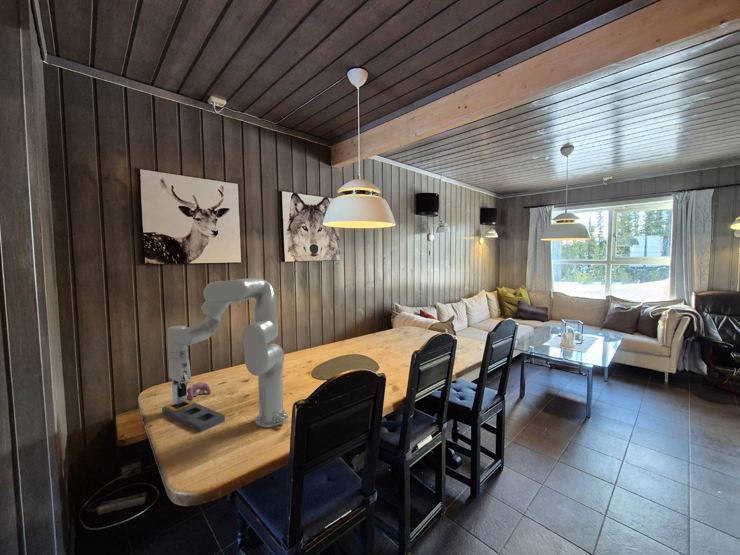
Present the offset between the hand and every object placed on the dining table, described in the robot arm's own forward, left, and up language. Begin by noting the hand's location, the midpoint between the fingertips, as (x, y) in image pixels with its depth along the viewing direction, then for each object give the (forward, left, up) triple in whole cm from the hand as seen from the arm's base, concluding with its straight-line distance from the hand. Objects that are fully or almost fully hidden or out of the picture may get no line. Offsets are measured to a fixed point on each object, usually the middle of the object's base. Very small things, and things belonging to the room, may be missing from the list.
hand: (179, 394), depth 136 cm
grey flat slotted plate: (-10, 0, -7) cm, 12 cm away
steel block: (0, 0, -3) cm, 3 cm away
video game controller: (+9, -13, -8) cm, 18 cm away
